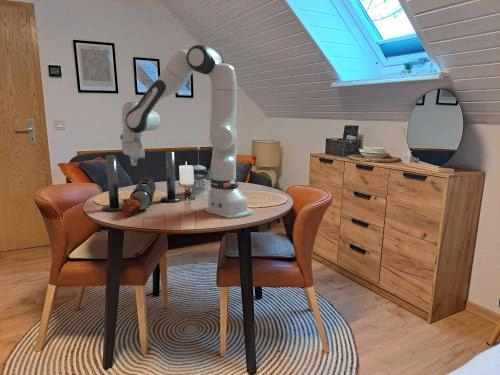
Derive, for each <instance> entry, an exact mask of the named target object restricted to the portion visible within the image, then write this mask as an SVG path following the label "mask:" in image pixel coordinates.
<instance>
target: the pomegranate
mask: <svg viewBox="0 0 500 375" xmlns="http://www.w3.org/2000/svg"><path fill="white" fill-rule="evenodd" d="M123 203H124V205H123V207H122V213H123V215H125V216H127V217H131V216H132V215H135V214H136V215H138V213H137V212H138V211H140V210H139V209H140V206H141V204H140V203H139V202H138V201H137V200H134V199H130V198H129V199H128V200H126V199H124V200H123Z"/></svg>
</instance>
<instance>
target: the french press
mask: <svg viewBox="0 0 500 375" xmlns="http://www.w3.org/2000/svg"><path fill="white" fill-rule="evenodd" d="M196 150H197V151H198V152H197V158H198V159H197V160H198V161H197V163H198V164H197V165H193V166H192V167H193V168H194V170H193V171H197V173H196V174H193V175H194V180H195V181H194V185H193V186H192V187H191V189H190V190H191V191H190V192H191V194H190V195H192V196H204V195H207V194H208V191H207V184H209V183H210V181H211V178H212V173H211V172H210V170H209V171H208V170H207V168H206V166H203V165H201V164H200V161H199V150H201V147H199V146H197V147H196ZM200 171H205V172H206V173H208V175H209V178H208V180H206V179H207V178H206V174H202V173H201V174H200V173H199V172H200Z"/></svg>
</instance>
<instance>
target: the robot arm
mask: <svg viewBox="0 0 500 375" xmlns="http://www.w3.org/2000/svg"><path fill="white" fill-rule="evenodd" d="M195 72H197V73H200V74H202V75H206V76H208V77H209V80H210V84H211V85H210V90H211V91H210V99H211V100H210V101H211V102H210V105H211V106H210V108H211V109H210V118H209V119H210V120H209V141H210V143H211V145H212V154H211V180H209V183H210V190H209V192H208V196H207V207H206V208H205V212H207V213H210V214H213V215H216V216H220V217H224V218H228V219H233V218H234V219H236V218H242V217H246V216H250V215H252V214H254V211H253V210H252V209H250V208H249V207H248V199H247V197H246V196H245V195H244V194H243V193H242V191H241V190H240V188H239V185H240V184H239V183H240V182H239V181H238V179H237V177H236V176H237V169H236V168H237V154H238V152H237V150H238V148H237V147H238V131H237V129H236V128H237V127H236V123H237V122H236V120H237V110H238V108H237V104H238V103H237V99H238V97H237V96H238V95H237V94H238V93H237V92H238V91H237V90H238V89H237V88H238V87H237V86H238V84H237V75H236V70H235V68H234V67H233V66H232V65H231V64H229V63H225V62H224V58H223V56H222V55H221V54H220V53H219V52H218V51H217V50H215V49H213V48H212V47H209V46H206V45H203V44H196V45H192V47H190V48H189V49H188V50H187V49H184V48H181V49H178V50H177V51H175V53H174V54H173V55H172V56H171V58H170V60H169V61H168V62H167V64H166V65H165V67H164V69H163V70H162V72H160V75H159V76H158V77H157V79H156V80H155V81H154V82H153V83H152V84H151V85H150V86H149V88H148V89H147V90H146V92H145V93H144V95H143V96H142V97H141V98H140V100H139V102H138V101H137V102H135V101H133V102H131V101H130V102H126V103H124V104H123V105H122V107H121V109H122V110H121V123H122V125H123V126H122V134H120V137H119V138H120V140H121V148H122V152H123V155H127V156H129V160H130V165H131V166H133V167H136V166H137V165H138V159H145V156H146V153H145V152H146V151H145V144H144V142H143V132H149V131H155V130H157V129H159V128H160V126H161V117H160V115H159V113H158V112H157V111H155V110H154V108H155V107H156V106H157V104H158V103H159V102H160V101H161V100H162V99H164V98H166V97H169V96H171V95H175V94H177V93H180V91H181V90H182V89H183V88H184V87H185V86H186V84H187V83H188V82H189V79H190V78H191V76H192V75H193V74H194V73H195Z"/></svg>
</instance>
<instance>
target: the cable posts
mask: <svg viewBox="0 0 500 375" xmlns="http://www.w3.org/2000/svg"><path fill="white" fill-rule="evenodd" d="M105 158H106V172H107V186H108V188H107V189H108V201H109V203H108V204H106V205H103V206H102V211H103V212H106V213H117V212H123V210H122V207H123V205H124V204H123V203H120V200H119V198H120V197H119V184H118V183H119V181H118V168H117V167H118V166H117V155H113V154H111V155H106V157H105ZM165 160H166V161H165V163H166V166H165V167H166V168H165V169H166V196H163V197H161V198H160V201H161V200H162V201H163V202H162V201H161V202H162V203H167V204H172V203H173V204H174V203H179V202H181V201H182V199H183V198H182V196H178V195H176V164H175V163H176V161H175V151H166V152H165Z"/></svg>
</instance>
